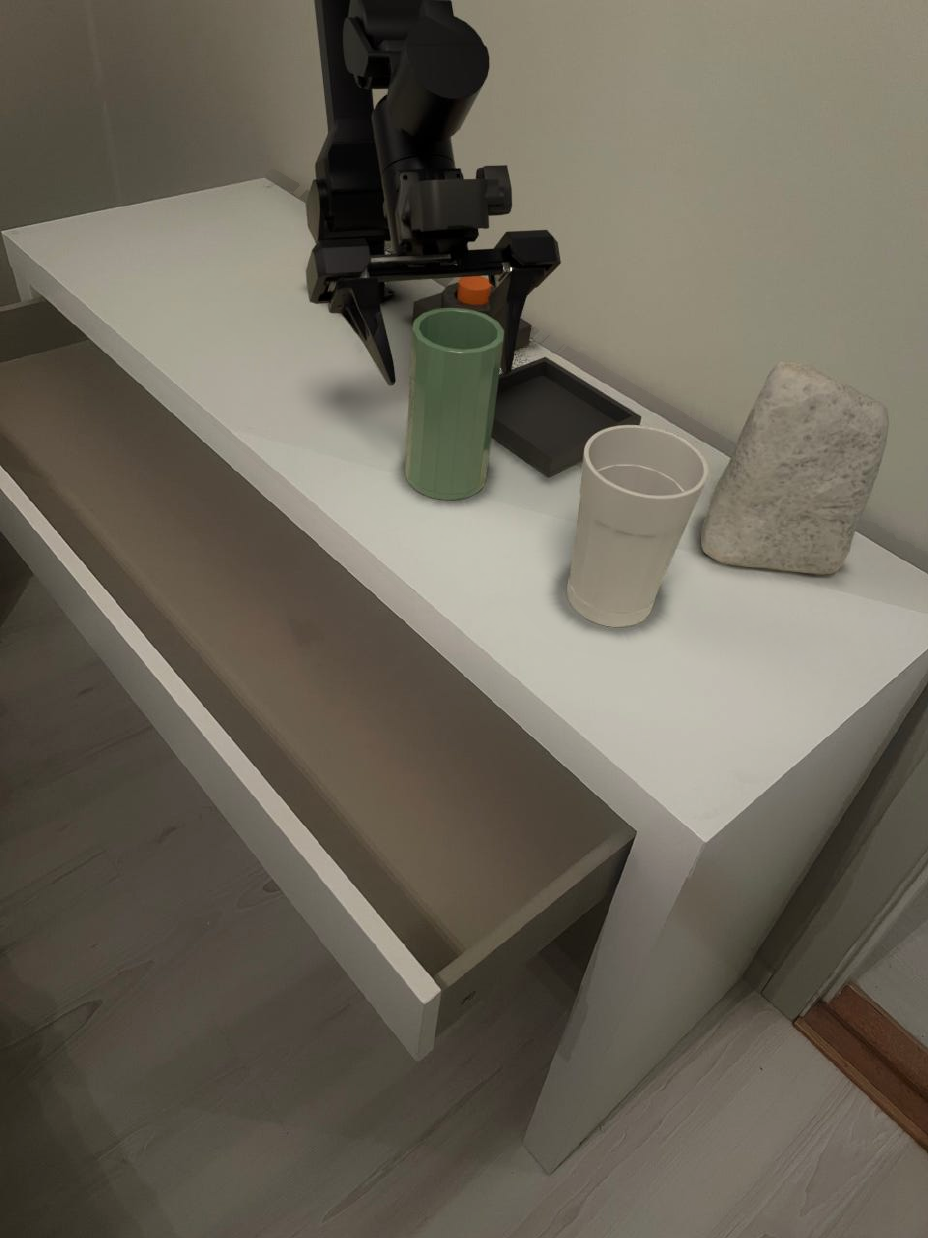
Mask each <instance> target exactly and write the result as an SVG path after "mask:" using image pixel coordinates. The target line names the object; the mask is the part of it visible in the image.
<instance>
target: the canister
mask: <svg viewBox="0 0 928 1238" xmlns="http://www.w3.org/2000/svg"><path fill="white" fill-rule="evenodd" d="M503 339H504V330H503V328H502V327H501V325H500V324H499V323H498V322H497V321H496V320H494V319H493V318H491V317H489V316H488V315H486V314H483V313H480V312H477V311H474V310H470V309H461V308H440V309H434V310H431V311H428V312H425V313H423V314H421V315H420V316H419V317H418V318H416V319H415V320H414V322H413V323H412V328H411V344H410V345H411V349H410V365H409V366H410V367H409V386H408V389H409V390H408V404H407V405H408V408H407V428H406V443H405V444H406V447H405V467H404V470H405V478H406V481H407V482H408V484H409V485H410V487H411V488H412V489H414V490H415V492H418V493H419V494H421V495H423V496H426V497H428V498H431V499H435V500H442V501H457V500H458V501H459V500H464V499H467V498H470V497H472V496H474V495H476V494H477V493H479V492H480V491H481V490H482V489H483V488H484V486H485V484H486V479H487V475H488V474H487V473H488V466H489V465H488V464H489V458H490V451H491V450H490V449H491V442H492V437H491V435H492V427H493V419H494V411H495V403H496V395H497V387H498V379H499V374H500V370H501V367H500V363H501V355H502V347H503Z"/></svg>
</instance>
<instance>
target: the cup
mask: <svg viewBox="0 0 928 1238" xmlns="http://www.w3.org/2000/svg"><path fill="white" fill-rule="evenodd" d="M708 477H709V465H708V463H707V461H706V457H704V455H703V454H702V452H700V450H699V449H698V448H696V447H695V446H694V445H693V444H692V443H690V442H689V441H688V440H686V439H685V438H682V437H681V436H679V435H677V434H675V433H672V432H670V431H667V430H664V429H660V428H657V427H652V426H647V425H641V424H640V425H621V426H614V427H610V428H607V429H604V430H601V431H599V432H598V433H596V434H594V435H593V436H592V437H591V438H590V439H589V440H588V441H587V443H586V445H585V448H584V456H583V461H582V466H581V476H580V486H579V499H578V500H579V502H578V509H577V518H576V525H575V534H574V542H573V549H572V550H573V551H572V558H571V566H570V572H569V576H568V580H567V585H566V598H567V600H568V602H569V604H570V605H571V607H572V608H573V609H574V611H576V613H578V614H579V615H580V616H582V617H583V618H585V619H586V620H588V621H591V622H592V623H595V624H597V625H601V626H606V627H611V628H625V627H632V626H634V625H637V624H639V623H641V622H643V621H644V620H646V618H648V617H649V615H650V614H651V612H652V609H653V607H654V603H655V600H656V598H657V595H658V592H659V591H660V588H661V585H662V582H663V580H664V578H665V575H666V574H667V572H668V569H669V566H670V564H671V562H672V560H673V557H674V555H675V553H676V550H677V548H678V545H679V543H680V541H681V539H682V536H683V534H684V533H685V532H684V531H685V529H686V527H687V525H688V522H689V520H690V518H691V515H692V514H693V511H694V509H695V506H696V505H697V502H698V500H699V498H700V496H701V494H702V491H703V489H704V487H705V485H706V483H707V480H708Z"/></svg>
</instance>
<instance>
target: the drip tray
mask: <svg viewBox="0 0 928 1238" xmlns="http://www.w3.org/2000/svg"><path fill="white" fill-rule="evenodd" d="M641 421H642V416H641V415H640V414H638V413H636V412H635V411H633V410H632V409H631V408H628V407H627V406H626V405H624V404H623V403H621V402H619V401H618V400H617V399H614V397H613V398H612V397H611V396H609V395H608V394H606V393H605V392H603V391H602V390H600V389H598V388H597V387H595V386H593V385H592V384H591V383H589V382H588V381H585V380H584V379H582V378H581V377H580V376H578V375H576V374H574V373H573V372H572V371H569V370H568V369H566V368H565V367H563V366H561V365H560V364H558V363H557V362H555V361H554V360H552V359H550V358H549V357H547V356H543V357H540V358H537V359H535V360H533V361H530V362H528V363H525V364H522V365H520V366H517V367H514V368H512V370H511V372H510V373H509V374H508V375H503V374H502V372H500V373H499V379H498V387H497V395H496V403H495V411H494V419H493V427H492V435H491V439H493V440H495V441H496V442H498V443H499V444H500V445H501V446H503V447H504V448H507V450H508V451H509V452H511V453H513V454H514V455H516V456H517V457H519V458H520V459H521V460H523V461H524V462H525V463H528V464H529V465H530V466H531V467H533V468H534V469H536V471H538V472H540V473H541V474H542V475H544V476H545V477H547V479H548V478H551V477H553V476H556V475H558V474H559V473H561V472H563V471H566V470H568V469H570V468H572V467H574V466H576V465H578V464H580V463H583V456H584V448H585V445H586V443H587V441H588V440H589V439H590V438H591V437H592V436H593V435H594V434H596V433H598V432H599V431H601V430H604V429H607V428H610V427H614V426H621V425H640V426H641Z"/></svg>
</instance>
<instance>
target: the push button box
mask: <svg viewBox="0 0 928 1238" xmlns="http://www.w3.org/2000/svg"><path fill="white" fill-rule="evenodd" d="M495 289H496V288H495V287H493V286H492V285H491V293H490V295H491V294H492V293H493V291H494V290H495ZM457 294H458V282H453V283H452V284H448V285H446V287H444V289H443V290H442V291H441V292H439V293H435V294H432V295H429V296H426V297H422V298H419V299H416V300H413V302H412V320H411V321H412V322H413V323H414V320H415V319H416V318H418V317H419V316H420V315H421V314H423V313H425V312H428V311H431V310H434V309H440V308H461V309H470V310H474V311H477V312H480V313H483V314H486V315H488V316H489V317H491V311H490V304H489V303H486V304H483V305H471V304H467V303H463V302H461V301H459V300H458V298H457ZM491 318H492V317H491ZM532 326H533V325H532V324H531V323H529V322H528V321H526V320H524V319H523V318H522V317H521V318H520V324H519V329H518V335H517V341H516V347H515V351H517V350H519V349H522V348H524V347H525V348H526V347H527V346H529V345H530V339H531V333H532Z"/></svg>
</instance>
